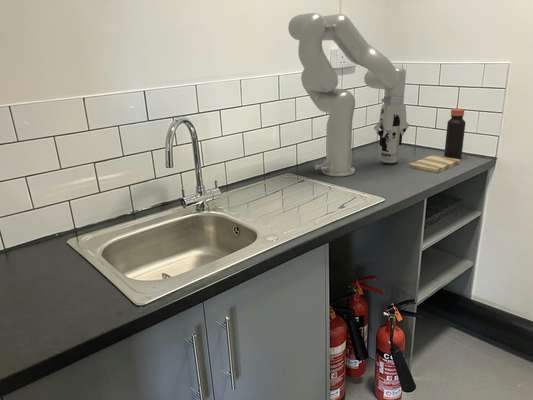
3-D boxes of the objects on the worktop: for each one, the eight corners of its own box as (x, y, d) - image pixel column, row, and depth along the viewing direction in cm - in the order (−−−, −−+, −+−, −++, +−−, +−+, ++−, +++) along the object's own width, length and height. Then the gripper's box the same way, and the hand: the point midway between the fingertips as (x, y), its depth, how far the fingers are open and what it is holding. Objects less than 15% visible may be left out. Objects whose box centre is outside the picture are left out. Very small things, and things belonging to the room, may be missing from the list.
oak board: (437, 173, 164) (437, 169, 164) (408, 167, 173) (408, 163, 173) (460, 163, 175) (460, 159, 175) (432, 158, 184) (432, 154, 184)
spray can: (377, 160, 181) (380, 111, 174) (390, 158, 184) (394, 110, 177) (387, 164, 176) (391, 114, 169) (401, 162, 178) (405, 112, 171)
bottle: (456, 155, 187) (461, 107, 180) (464, 159, 181) (470, 110, 174) (441, 156, 187) (445, 108, 180) (448, 160, 180) (453, 111, 173)
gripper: (379, 103, 165) (376, 149, 171) (418, 100, 171) (414, 145, 177) (369, 101, 172) (366, 145, 178) (406, 98, 177) (402, 141, 183)
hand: (390, 145), depth 177 cm, fingers closed on spray can, 6 cm apart
